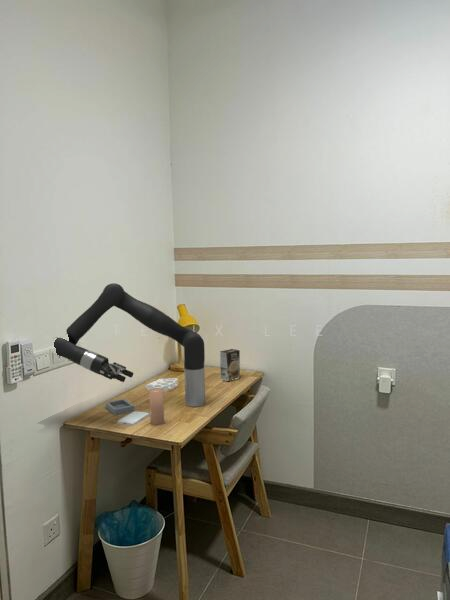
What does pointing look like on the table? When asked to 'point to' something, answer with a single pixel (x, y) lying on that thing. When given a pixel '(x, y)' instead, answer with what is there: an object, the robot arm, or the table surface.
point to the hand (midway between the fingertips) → (128, 377)
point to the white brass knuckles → (163, 384)
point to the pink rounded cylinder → (156, 406)
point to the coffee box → (230, 364)
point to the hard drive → (133, 418)
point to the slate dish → (119, 406)
